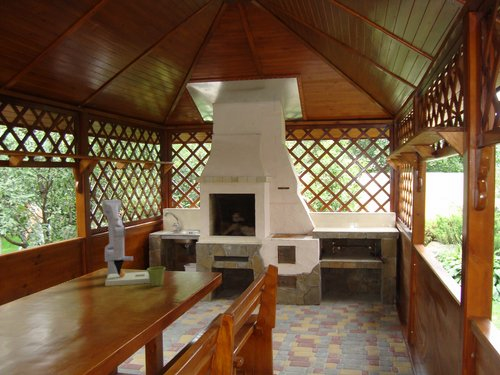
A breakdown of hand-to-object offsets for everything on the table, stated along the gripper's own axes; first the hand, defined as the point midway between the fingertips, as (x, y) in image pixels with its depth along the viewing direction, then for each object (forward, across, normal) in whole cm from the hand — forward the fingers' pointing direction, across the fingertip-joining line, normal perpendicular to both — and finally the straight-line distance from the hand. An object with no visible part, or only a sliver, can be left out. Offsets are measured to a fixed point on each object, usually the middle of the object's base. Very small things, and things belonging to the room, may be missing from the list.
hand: (119, 274), depth 224 cm
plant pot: (+5, +20, -13) cm, 24 cm away
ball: (0, +1, 0) cm, 1 cm away
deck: (+4, +6, +1) cm, 7 cm away
